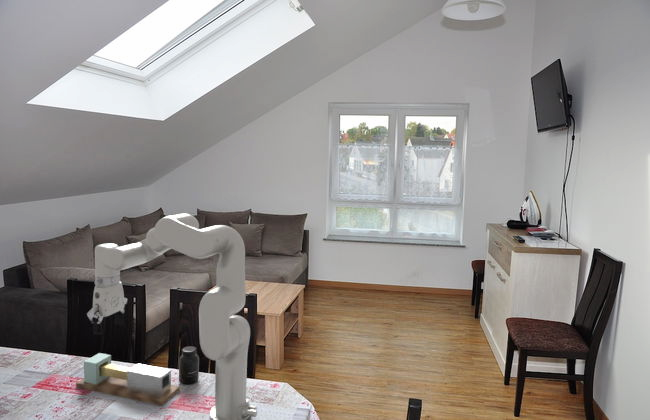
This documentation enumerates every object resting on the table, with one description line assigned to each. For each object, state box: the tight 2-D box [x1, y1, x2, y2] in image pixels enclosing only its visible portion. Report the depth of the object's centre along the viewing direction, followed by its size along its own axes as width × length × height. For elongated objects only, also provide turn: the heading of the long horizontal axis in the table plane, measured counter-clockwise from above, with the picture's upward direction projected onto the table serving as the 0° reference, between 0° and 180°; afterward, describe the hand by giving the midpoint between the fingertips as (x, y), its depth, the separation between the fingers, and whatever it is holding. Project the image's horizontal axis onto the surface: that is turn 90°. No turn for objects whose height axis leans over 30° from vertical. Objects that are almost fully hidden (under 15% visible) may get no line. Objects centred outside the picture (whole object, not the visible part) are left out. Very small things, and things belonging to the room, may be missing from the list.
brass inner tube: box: [99, 363, 131, 380], centre depth 153 cm, size 20×3×3 cm, turn 74°
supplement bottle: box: [178, 346, 200, 386], centre depth 160 cm, size 7×7×12 cm
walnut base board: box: [75, 377, 181, 407], centre depth 153 cm, size 34×10×2 cm, turn 74°
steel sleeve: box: [127, 363, 172, 397], centre depth 150 cm, size 13×6×7 cm, turn 74°
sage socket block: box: [83, 352, 112, 384], centre depth 156 cm, size 5×7×8 cm
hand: (108, 329), depth 153 cm, fingers open, 9 cm apart
